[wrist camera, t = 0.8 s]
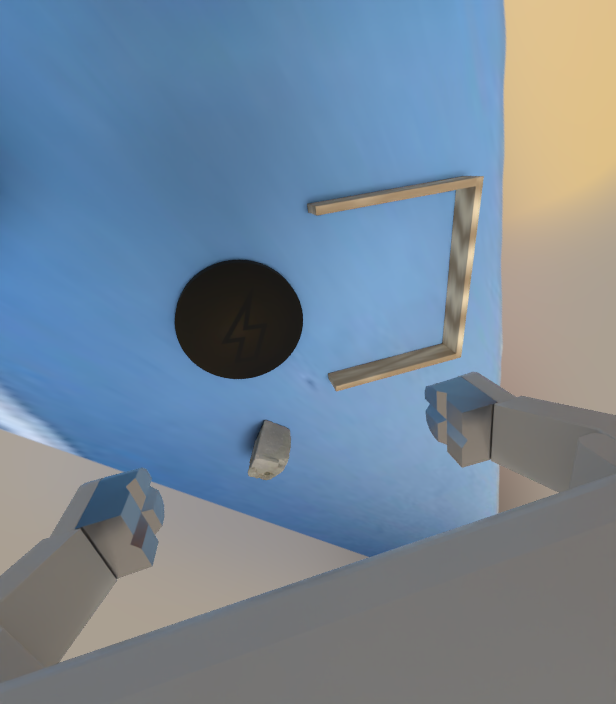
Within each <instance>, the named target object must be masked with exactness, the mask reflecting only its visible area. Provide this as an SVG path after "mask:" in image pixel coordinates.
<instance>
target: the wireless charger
mask: <svg viewBox="0 0 616 704" xmlns="http://www.w3.org/2000/svg"><path fill="white" fill-rule="evenodd" d="M302 327H303V313H302V308H301V304H300V301H299V299H298V297H297V295H296V293H295V291H294V290H293V288H292V287H291V286H290V284H289V283H288V282H287V281H286V279H285V278H284V277H283V276H282V275H280V274H279V273H278V272H276V271H275V270H273V269H272V268H270V267H268V266H266V265H263V264H261V263H258V262H254V261H249V260H228V261H223V262H219V263H216V264H214V265H211V266H209V267H207V268H205V269H204V270H202V271H201V272H199V273H198V274H197V275H195V276H194V277H193V278H192V279H191V280H190V281H189V283H188V284H187V285H186V287H185V288H184V290H183V292H182V294H181V296H180V298H179V301H178V304H177V308H176V313H175V330H176V335H177V338H178V341H179V343H180V345H181V347H182V349H183V351H184V352H185V354H186V355H187V356H188V357H189V358H190V360H191V361H192V362H194V363H195V364H196V365H197V366H199V367H200V368H202V369H203V370H205V371H207V372H209V373H211V374H213V375H216V376H220V377H224V378H230V379H246V378H253V377H257V376H260V375H263V374H265V373H267V372H270V371H271V370H273V369H275V368H276V367H278V366H279V365H281V364H282V363H283V362H284V361H285V360H286V359H287V358H288V357H289V356H290V355H291V353H292V352H293V351H294V349H295V347H296V345H297V344H298V341H299V339H300V336H301V332H302Z"/></svg>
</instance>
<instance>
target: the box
mask: <svg viewBox="0 0 616 704" xmlns="http://www.w3.org/2000/svg"><path fill="white" fill-rule="evenodd" d="M483 178H484V176H461V177H456V178H450V179H445V180H439V181H433V182H428V183H422V184H416V185H411V186H405V187H400V188H394V189H388V190H383V191H377V192H371V193H366V194H360V195H355V196H349V197H343V198H338V199H332V200H326V201H321V202H315V203H310V204H307V207H308V212H309V213H312V214H314V215H322V214H327V213H333V212H338V211H344V210H349V209H355V208H360V207H365V206H371V205H376V204H382V203H387V202H392V201H398V200H403V199H409V198H414V197H420V196H425V195H430V194H436V193H441V192H447V191H452V190H456V197H455V208H454V219H453V230H452V241H451V253H450V264H449V275H448V286H447V298H446V309H445V320H444V331H443V342H442V344H438V345H435V346H431V347H427V348H423V349H419V350H416V351H412V352H408V353H404V354H400V355H397V356H393V357H389V358H385V359H382V360H378V361H374V362H370V363H366V364H363V365H359V366H355V367H351V368H347V369H344V370H340V371H336V372H332V373H329V374H328V377H329V380H330V382H331V383H332V385H333V387H334V388H335V390H336V391H340V390H343V389H347V388H350V387H354V386H358V385H361V384H365V383H369V382H372V381H376V380H380V379H383V378H387V377H391V376H394V375H398V374H402V373H405V372H409V371H412V370H416V369H420V368H423V367H427V366H431V365H434V364H438V363H442V362H445V361H449V360H453V359H456V358H460V357H461V353H462V345H463V337H464V329H465V321H466V313H467V305H468V297H469V289H470V281H471V273H472V265H473V257H474V249H475V241H476V233H477V225H478V217H479V209H480V202H481V194H482V186H483Z"/></svg>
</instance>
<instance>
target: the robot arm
mask: <svg viewBox="0 0 616 704" xmlns="http://www.w3.org/2000/svg"><path fill="white" fill-rule="evenodd" d="M425 399H426V400H427V401H428V402H429V403H430V405H429V406H428V408H427V410H426V421H427V424H428V426H429V429H430V431H431V433H432V434H433V436H434V437H435V438H436V439H437V441H439V442H441V443H444V444H447V452H448V453H449V454H450V455H451V456H452V457H453V458H454V459H455V460H456V462H457V463H458V464H459V465H460V466H461V467H466V466H469V465H473V464H476V463H480V462H483V461H487V460H490V459H491V461H493V462H495V463H497V464H499V465H501V466H503V467H506V468H508V469H510V470H512V471H514V472H516V473H518V474H520V475H522V476H525V477H527V478H529V479H531V480H533V481H536V482H538V483H540V484H542V485H544V486H546V487H548V488H550V489H553V490H555V491H557V492H559V493H558V494H555V495H552V496H549V497H546V498H543V499H540V500H537V501H534V502H531V503H528V504H525V505H522V506H520V507H517V508H513V509H510V510H508V511H505V512H502V513H499V514H496V515H493V516H490V517H487V518H484V519H481V520H478V521H475V522H472V523H469V524H466V525H463V526H460V527H457V528H455V529H452V530H449V531H446V532H443V533H440V534H437V535H434V536H431V537H428V538H425V539H422V540H419V541H416V542H413V543H410V544H407V545H404V546H402V547H399V548H396V549H393V550H390V551H387V552H384V553H381V554H378V555H375V556H372V557H369V558H366V559H363V560H360V561H358V562H355V563H352V564H349V565H346V566H343V567H340V568H337V569H334V570H331V571H328V572H325V573H322V574H319V575H316V576H313V577H311V578H307V579H304V580H302V581H299V582H296V583H293V584H290V585H287V586H284V587H281V588H278V589H275V590H272V591H269V592H266V593H263V594H261V595H258V596H255V597H251V598H248V599H246V600H243V601H240V602H237V603H234V604H231V605H228V606H225V607H222V608H219V609H216V610H213V611H210V612H208V613H204V614H201V615H198V616H196V617H193V618H190V619H187V620H184V621H181V622H178V623H175V624H172V625H169V626H167V627H163V628H160V629H158V630H154V631H151V632H149V633H146V634H143V635H140V636H137V637H134V638H131V639H128V640H125V641H122V642H119V643H116V644H113V645H110V646H107V647H105V648H101V649H98V650H96V651H93V652H90V653H87V654H84V655H81V656H78V657H75V658H72V659H69V660H66V661H63V662H60V660H61V659H62V657H63V656H64V655H65V653H66V652H67V650H68V649H69V648H70V646H71V645H72V643H73V642H74V641H75V639H76V638H77V636H78V635H79V634H80V632H81V631H82V629H83V628H84V626H85V625H86V624H87V622H88V621H89V619H90V618H91V617H92V615H93V614H94V612H95V611H96V609H97V608H98V607H99V605H100V604H101V603H102V601H103V600H104V598H105V597H106V596H107V594H108V593H109V591H110V590H111V589H112V587H113V586H114V584H115V583H116V582H117V579H118V578H120V577H123V576H126V575H129V574H132V573H135V572H138V571H140V570H143V569H146V568H149V567H152V566H153V562H154V558H155V554H156V549H157V545H158V540H157V538H156V536H155V534H156V533H157V532H158V531H159V529H160V528H161V527H162V524H163V520H164V504H163V500H162V497H161V495H160V493H159V491H158V490H157V489H154V488H153V487H151V486H150V483H151V479H152V478H151V476H150V474H149V472H148V471H147V469H145V468H138V469H135V470H131V471H127V472H123V473H120V474H116V475H112V476H108V477H105V478H101V479H98V480H94V481H90V482H87V483H85V484H83V485H81V486H80V487H79V489H78V490H77V492H76V494H75V496H74V497H73V499H72V500H71V502H70V504H69V506H68V507H67V509H66V511H65V512H64V514H63V516H62V517H61V519H60V521H59V523H58V524H57V526H56V528H55V529H54V531H53V533H52V534H51V536H50V537H49V538H46V539H43V540H42V541H40V542H39V543H38V544H37V545H36V546H35V547H33V548H32V549H31V550H30V551H29V552H28V553H26V554H25V555H24V556H23V557H22V558H21V559H19V560H18V561H17V562H16V563H15V564H14V565H12V566H11V567H10V568H9V569H8V570H7V571H6V572H4V573H3V574H2V575H1V576H0V704H616V415H612V414H607V413H602V412H598V411H593V410H588V409H583V408H578V407H573V406H568V405H564V404H559V403H554V402H549V401H544V400H539V399H534V398H530V397H525V396H520V397H515V396H514V395H512V394H511V393H509V392H508V391H506V390H504V389H503V388H501V387H500V386H498V385H497V384H495V383H493V382H492V381H490V380H489V379H487V378H486V377H484V376H482V375H481V374H479V373H477V372H471V373H468V374H464V375H461V376H458V377H457V378H453V379H450V380H447V381H443V382H440V383H436V384H433V385H430V386H426V389H425ZM59 662H60V663H59Z"/></svg>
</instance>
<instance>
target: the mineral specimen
mask: <svg viewBox="0 0 616 704" xmlns="http://www.w3.org/2000/svg"><path fill="white" fill-rule="evenodd" d="M290 448H291V437H290V430H289V429H288V428H286V427H283V426H281V425H278V424H276V423H273V422H271V421H268V420H265V421H264V424H263V426H262V428H261V430H260V433H259V435H258V437H257V439H256V441H255V444H254V448H253V451H252V455H251V459H250V462H249V463H250V466H249V470H248V475H249V476H250V477H255V478H261V479H263V480H269V479H272V478H273V477H275V476H276V475H278V474H279V473H281V472H282V471H283V470H284V468H285V465H286V464H287V462H288V459H289V452H290Z"/></svg>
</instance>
